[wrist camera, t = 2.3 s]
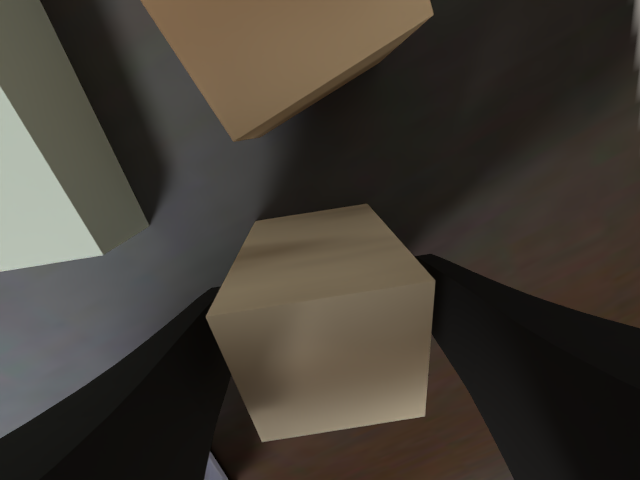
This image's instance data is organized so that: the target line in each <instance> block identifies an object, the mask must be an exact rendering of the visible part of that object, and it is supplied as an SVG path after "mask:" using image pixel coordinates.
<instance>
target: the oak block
mask: <svg viewBox="0 0 640 480" xmlns="http://www.w3.org/2000/svg"><path fill="white" fill-rule="evenodd" d="M141 2H142V3H143V5H144V6H145V8H146V9H147V11H148V12H149V14H150V15H151V17H152V19H153V20H154V22H155V23H156V25H157V26H158V28H159V29H160V31H161V32H162V34H163V35H164V37H165V38H166V40H167V41H168V43H169V44H170V46H171V47H172V49H173V50H174V52H175V54H176V55H177V57H178V58H179V60H180V61H181V63H182V64H183V66H184V67H185V69H186V70H187V72H188V73H189V75H190V76H191V78H192V79H193V81H194V82H195V84H196V85H197V87H198V88H199V90H200V92H201V93H202V95H203V96H204V98H205V99H206V101H207V102H208V104H209V105H210V107H211V108H212V110H213V111H214V113H215V114H216V116H217V117H218V119H219V120H220V122H221V123H222V125H223V126H224V128H225V130H226V131H227V133H228V134H229V136H230V137H231V139H232V140H233V142H235V141H241V140H247V139H253V138H259V137H261V136H263V135H265V134H266V133H268V132H269V131H271V130H273V129H274V128H276V127H277V126H279V125H281V124H282V123H284V122H285V121H287V120H289V119H290V118H292V117H293V116H295V115H297V114H298V113H300V112H301V111H303V110H305V109H306V108H308V107H309V106H311V105H313V104H314V103H316V102H317V101H319V100H321V99H322V98H324V97H325V96H327V95H329V94H330V93H332V92H333V91H335V90H337V89H338V88H340V87H341V86H343V85H344V84H346V83H348V82H349V81H351V80H352V79H354V78H356V77H357V76H359V75H360V74H362V73H364V72H365V71H367V70H368V69H370V68H372V67H373V66H375V65H376V64H378V63H380V62H381V61H382V60H383V59H384V58H385V57H386V56H387V55H389V54H390V53H391V52H392V51H393V50H394V49H395V48H397V47H398V46H399V45H400V44H401V43H402V42H403V41H404V40H406V39H407V38H408V37H409V36H410V35H411V34H412V33H414V32H415V31H416V30H417V29H418V28H419V27H420V26H421V25H423V24H424V23H425V22H426V21H427V20H428V19H429V18H431V17H432V16H433V15H434V14H433V10H432V6H431V2H430V0H141Z"/></svg>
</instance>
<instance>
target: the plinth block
mask: <svg viewBox="0 0 640 480" xmlns="http://www.w3.org/2000/svg"><path fill="white" fill-rule="evenodd" d="M147 227H149V224H148V222H147V220H146V218H145V216H144V214H143V212H142V209H141V207H140V205H139V203H138V201H137V199H136V197H135V195H134V193H133V191H132V189H131V187H130V185H129V183H128V181H127V179H126V177H125V174H124V172H123V170H122V168H121V166H120V164H119V162H118V160H117V158H116V156H115V154H114V152H113V150H112V148H111V146H110V144H109V142H108V139H107V137H106V135H105V133H104V131H103V129H102V127H101V125H100V123H99V121H98V119H97V117H96V115H95V113H94V111H93V109H92V107H91V104H90V102H89V100H88V98H87V96H86V94H85V92H84V90H83V88H82V86H81V84H80V82H79V80H78V78H77V76H76V74H75V72H74V69H73V67H72V65H71V63H70V61H69V59H68V57H67V55H66V53H65V51H64V49H63V47H62V45H61V43H60V41H59V39H58V37H57V34H56V32H55V30H54V28H53V26H52V24H51V22H50V20H49V18H48V16H47V14H46V12H45V10H44V8H43V6H42V4H41V2H40V0H0V272H1V271H7V270H13V269H20V268H26V267H32V266H38V265H44V264H51V263H57V262H63V261H69V260H76V259H82V258H88V257H94V256H101V255H104V254H106V253H107V252H109V251H111V250H112V249H114V248H115V247H117V246H119V245H120V244H122V243H123V242H125V241H127V240H128V239H130V238H131V237H133V236H135V235H136V234H138V233H139V232H141V231H143V230H144V229H146V228H147Z"/></svg>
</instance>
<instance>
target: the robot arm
mask: <svg viewBox="0 0 640 480" xmlns="http://www.w3.org/2000/svg"><path fill="white" fill-rule="evenodd" d="M415 258H416V259H417V260H418V261H419V263H420V264H421V265H422V266H423V267H424V268H425V269H426V271H427V272H428V273H429V274H430V275H431V276H432V277H433V278H434V280H435V293H434V305H433V318H432V331H431V333H432V335H433V337H434V338H435V340H436V341H437V343H438V344H439V346H440V347H441V349H442V350H443V352H444V353H445V355H446V357H447V358H448V360H449V361H450V363H451V364H452V366H453V367H454V369H455V370H456V372H457V373H458V375H459V376H460V378H461V380H462V381H463V383H464V385H465V386H466V388H467V390H468V391H469V393H470V395H471V396H472V398H473V400H474V402H475V404H476V406H477V408H478V410H479V411H480V413H481V415H482V417H483V419H484V421H485V423H486V425H487V426H488V428H489V430H490V432H491V434H492V436H493V438H494V440H495V442H496V444H497V446H498V448H499V450H500V452H501V454H502V456H503V458H504V460H505V462H506V464H507V466H508V468H509V470H510V472H511V474H512V476H513V478H514V480H640V328H636V327H633V326H629V325H625V324H622V323H618V322H614V321H611V320H607V319H603V318H600V317H597V316H593V315H590V314H586V313H583V312H580V311H576V310H573V309H570V308H567V307H564V306H561V305H558V304H555V303H552V302H549V301H546V300H543V299H540V298H537V297H534V296H532V295H529V294H526V293H524V292H521V291H519V290H516V289H513V288H511V287H508V286H506V285H503V284H501V283H498V282H496V281H493V280H491V279H489V278H486V277H484V276H482V275H479V274H477V273H475V272H472V271H470V270H468V269H466V268H463V267H461V266H459V265H457V264H454V263H452V262H450V261H448V260H445V259H443V258H441V257H438V256H435V255H433V254H427V255H421V256H415ZM220 288H221V287H215V288H211V289H209V290H208V291H206V292H205V293H204V294H203V295H201V296H200V297H199V298H198V299H196V300H195V301H194V302H193V303H192V304H190V305H189V306H188V307H187V308H186V309H185V310H183V311H182V312H181V313H180V314H179V315H177V316H176V317H175V318H174V319H173V320H171V321H170V322H169V323H168V324H167V325H165V326H164V327H163V328H162V329H161V330H159V331H158V332H157V333H156V334H154V335H153V336H152V337H150V338H149V339H148V340H147V341H145V342H144V343H143V344H142V345H140V346H139V347H138V348H137V349H135V350H134V351H133V352H131V353H130V354H129V355H127V356H126V357H125V358H123V359H122V360H121V361H119V362H118V363H117V364H115V365H114V366H113V367H111V368H110V369H108V370H107V371H105V372H104V373H103V374H101V375H100V376H98V377H97V378H95V379H94V380H92V381H91V382H90V383H88V384H87V385H85V386H84V387H82V388H81V389H79V390H78V391H76V392H75V393H73V394H71V395H70V396H68V397H67V398H65V399H63V400H62V401H60V402H59V403H57V404H56V405H54V406H52V407H51V408H49V409H48V410H46V411H45V412H43V413H41V414H40V415H38V416H37V417H35V418H34V419H32V420H30V421H29V422H27V423H26V424H24V425H22V426H21V427H19V428H17V429H16V430H14V431H12V432H10V433H9V434H7V435H5V436H4V437H2V438H0V480H228V478H227V477H226V475H225V473H224V472H223V470H222V469H221V467H220V466H219V464H218V462H217V461H216V459H215V458H214V456H213V455H212V453H211V452H210V449H211V444H212V439H213V435H214V431H215V427H216V423H217V419H218V416H219V413H220V409H221V406H222V403H223V400H224V396H225V393H226V390H227V387H228V383H229V380H230V377H231V372H230V370H229V368H228V366H227V363H226V361H225V359H224V357H223V355H222V352H221V350H220V348H219V346H218V344H217V341H216V339H215V337H214V335H213V332H212V330H211V328H210V326H209V324H208V321H207V319H206V315H207V313H208V311H209V309H210V307H211V305H212V303H213V301H214V299H215V297H216V296H217V294H218V292H219V290H220Z"/></svg>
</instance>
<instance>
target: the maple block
mask: <svg viewBox="0 0 640 480" xmlns="http://www.w3.org/2000/svg"><path fill="white" fill-rule="evenodd" d="M434 293H435V280H434V278H433V277H432V276H431V275H430V274H429V273H428V272H427V271H426V269H425V268H424V267H423V266H422V265H421V264H420V263H419V261H418V260H417V259H416V258H415V257H414V256H413V255H412V254H411V252H410V251H409V250H408V249H407V248H406V247H405V246H404V245H403V243H402V242H401V241H400V240H399V239H398V238H397V237H396V236H395V234H394V233H393V232H392V231H391V230H390V229H389V228H388V226H387V225H386V224H385V223H384V222H383V221H382V220H381V219H380V217H379V216H378V215H377V214H376V213H375V212H374V211H373V210H372V208H371V207H370V206H369V205H368V204H361V205H354V206H348V207H342V208H335V209H329V210H323V211H316V212H310V213H303V214H297V215H291V216H284V217H278V218H271V219H265V220H259V221H255V222H254V224H253V226H252V228H251V230H250V232H249V234H248V236H247V238H246V240H245V242H244V244H243V246H242V247H241V249H240V251H239V253H238V255H237V257H236V259H235V261H234V263H233V265H232V267H231V269H230V271H229V272H228V274H227V276H226V278H225V280H224V282H223V284H222V286H221V288H220V290H219V292H218V294H217V296H216V297H215V299H214V301H213V303H212V305H211V307H210V309H209V311H208V313H207V315H206V319H207V321H208V324H209V326H210V328H211V330H212V332H213V335H214V337H215V339H216V341H217V344H218V346H219V348H220V350H221V352H222V355H223V357H224V359H225V361H226V363H227V366H228V368H229V370H230V372H231V375H232V377H233V379H234V381H235V383H236V386H237V388H238V390H239V392H240V395H241V397H242V399H243V401H244V403H245V406H246V408H247V410H248V412H249V414H250V417H251V419H252V421H253V423H254V426H255V428H256V430H257V432H258V434H259V437H260V439H261V441H262V442H266V441H272V440H278V439H285V438H291V437H297V436H304V435H310V434H316V433H323V432H329V431H335V430H342V429H348V428H354V427H361V426H367V425H373V424H379V423H386V422H392V421H398V420H405V419H411V418H417V417H424V416H425V407H426V395H427V382H428V369H429V356H430V344H431V331H432V318H433V305H434Z"/></svg>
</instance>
